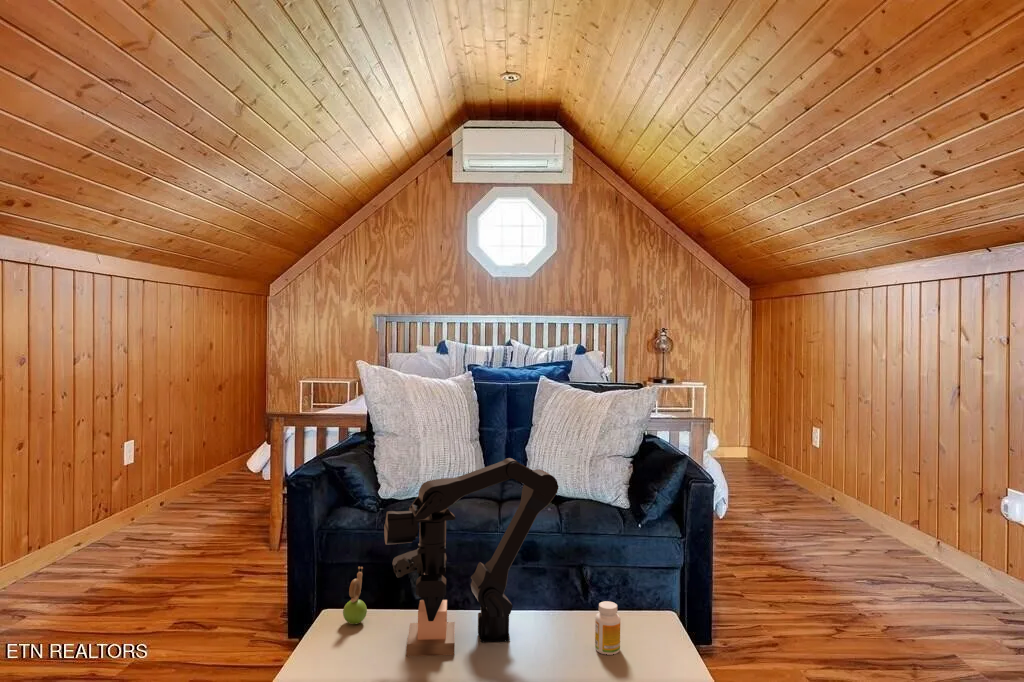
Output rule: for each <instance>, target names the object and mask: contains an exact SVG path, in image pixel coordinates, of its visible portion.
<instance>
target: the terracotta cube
mask: <svg viewBox="0 0 1024 682" xmlns="http://www.w3.org/2000/svg"><path fill="white" fill-rule="evenodd" d="M447 620H448V599H443V600H442V603H441V605H440V607H439V609H438V612H437V614H436V616H435V619H434V621H428V617H427V612H426V607H425V603H424V600H423V599H420V600H419V604H418V611H417V623H418V640H429V639H446V630H447V622H448V621H447Z"/></svg>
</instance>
